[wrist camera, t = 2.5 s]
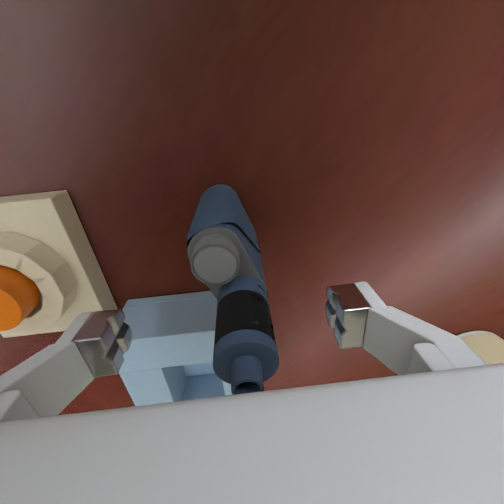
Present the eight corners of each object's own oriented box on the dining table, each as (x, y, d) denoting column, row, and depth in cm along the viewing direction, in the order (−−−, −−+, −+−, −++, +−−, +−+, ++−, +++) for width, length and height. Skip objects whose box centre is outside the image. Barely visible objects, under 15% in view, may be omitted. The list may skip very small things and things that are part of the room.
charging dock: (127, 299, 21) (102, 345, 17) (251, 285, 21) (256, 328, 17) (164, 391, 27) (152, 443, 23) (261, 380, 27) (267, 429, 23)
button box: (-61, 202, 17) (-128, 224, 13) (67, 189, 17) (29, 207, 14) (20, 321, 21) (-16, 356, 18) (119, 310, 21) (100, 343, 18)
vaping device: (230, 254, 20) (229, 421, 9) (194, 191, 17) (135, 321, 7) (262, 240, 19) (298, 398, 9) (229, 174, 17) (225, 283, 6)
